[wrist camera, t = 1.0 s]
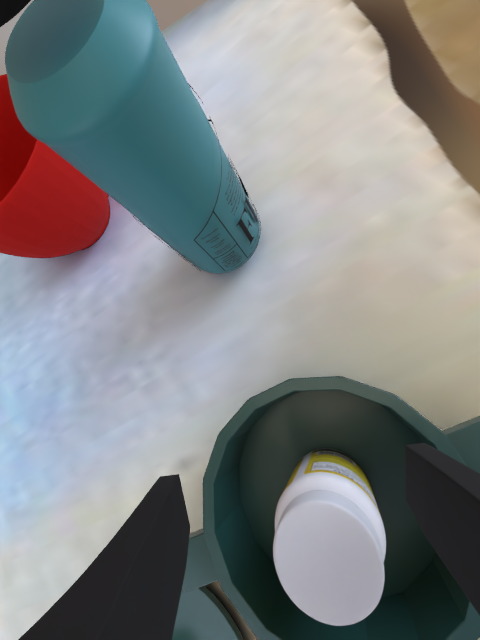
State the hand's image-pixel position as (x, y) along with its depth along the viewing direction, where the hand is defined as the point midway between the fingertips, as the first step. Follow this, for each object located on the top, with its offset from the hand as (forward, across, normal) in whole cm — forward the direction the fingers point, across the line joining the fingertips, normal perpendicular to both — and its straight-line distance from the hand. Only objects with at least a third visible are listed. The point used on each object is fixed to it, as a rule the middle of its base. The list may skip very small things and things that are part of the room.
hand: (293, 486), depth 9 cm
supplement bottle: (+8, -3, +8) cm, 12 cm away
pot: (+8, -3, +8) cm, 12 cm away
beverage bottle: (+18, +1, -8) cm, 20 cm away
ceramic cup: (+25, +15, -14) cm, 33 cm away
